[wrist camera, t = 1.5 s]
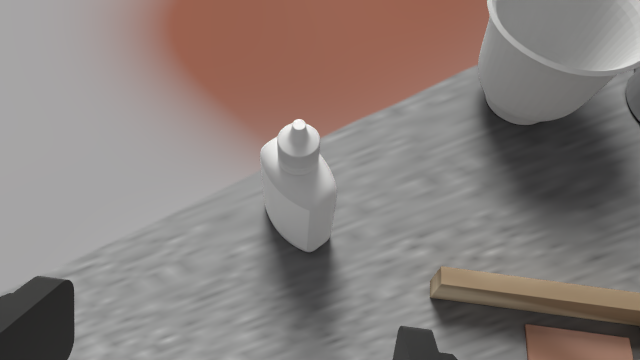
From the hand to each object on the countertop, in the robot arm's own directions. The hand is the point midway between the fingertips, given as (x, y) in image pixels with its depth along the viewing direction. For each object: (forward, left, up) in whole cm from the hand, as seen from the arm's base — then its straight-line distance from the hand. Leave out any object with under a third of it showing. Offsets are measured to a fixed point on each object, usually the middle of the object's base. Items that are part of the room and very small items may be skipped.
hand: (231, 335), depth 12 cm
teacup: (-29, +18, -21) cm, 40 cm away
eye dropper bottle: (-13, 0, -21) cm, 25 cm away
